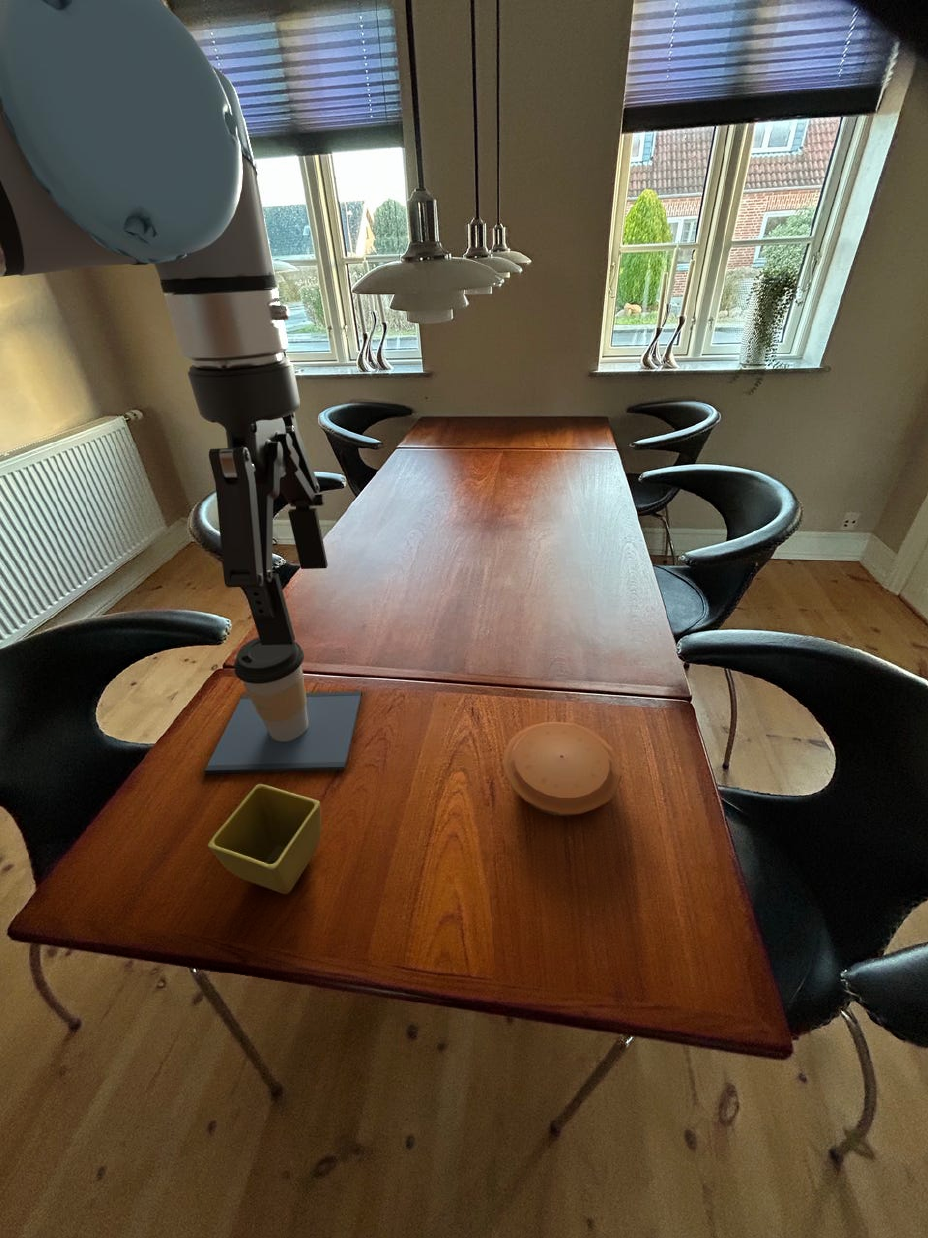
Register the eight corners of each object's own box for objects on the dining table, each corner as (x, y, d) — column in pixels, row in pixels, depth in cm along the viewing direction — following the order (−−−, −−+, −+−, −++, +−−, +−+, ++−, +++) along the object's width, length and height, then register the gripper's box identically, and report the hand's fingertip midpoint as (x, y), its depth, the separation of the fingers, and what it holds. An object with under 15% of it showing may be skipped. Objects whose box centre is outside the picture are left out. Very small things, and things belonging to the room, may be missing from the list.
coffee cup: (244, 742, 80) (215, 665, 71) (281, 701, 87) (258, 626, 79) (298, 757, 77) (274, 677, 68) (331, 713, 84) (314, 636, 76)
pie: (479, 787, 72) (478, 762, 69) (544, 723, 82) (545, 699, 79) (577, 855, 63) (581, 830, 61) (637, 775, 73) (643, 750, 70)
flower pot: (275, 827, 68) (257, 781, 63) (334, 847, 65) (321, 800, 60) (228, 891, 61) (205, 845, 56) (293, 916, 59) (274, 870, 54)
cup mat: (205, 773, 76) (204, 770, 75) (243, 697, 89) (242, 694, 89) (344, 769, 75) (344, 766, 75) (362, 693, 89) (361, 691, 88)
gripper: (228, 390, 29) (305, 684, 41) (325, 337, 50) (357, 542, 62) (93, 395, 29) (209, 687, 41) (245, 340, 50) (293, 544, 62)
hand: (298, 601), depth 51 cm, fingers open, 13 cm apart
